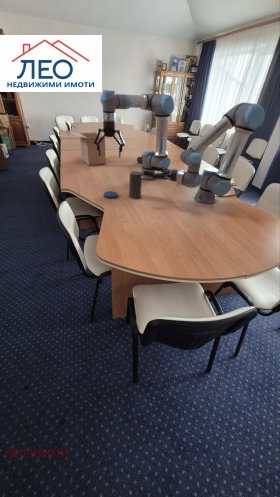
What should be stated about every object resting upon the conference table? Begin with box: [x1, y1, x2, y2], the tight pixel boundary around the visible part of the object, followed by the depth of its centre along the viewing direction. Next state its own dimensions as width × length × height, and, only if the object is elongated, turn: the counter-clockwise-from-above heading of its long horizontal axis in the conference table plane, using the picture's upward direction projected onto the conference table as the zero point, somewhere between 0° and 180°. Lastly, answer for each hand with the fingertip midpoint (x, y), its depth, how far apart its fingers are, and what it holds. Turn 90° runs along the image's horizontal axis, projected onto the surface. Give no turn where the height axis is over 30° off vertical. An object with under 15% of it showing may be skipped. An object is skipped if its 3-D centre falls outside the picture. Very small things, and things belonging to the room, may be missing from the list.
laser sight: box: [136, 153, 143, 164], centre depth 238 cm, size 10×22×10 cm, turn 78°
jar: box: [128, 170, 143, 200], centre depth 164 cm, size 9×9×18 cm
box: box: [70, 129, 107, 166], centre depth 229 cm, size 44×36×27 cm
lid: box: [103, 190, 118, 199], centre depth 166 cm, size 10×10×2 cm
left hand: (109, 156), depth 150 cm, fingers open, 13 cm apart
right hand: (148, 170), depth 154 cm, fingers open, 13 cm apart
